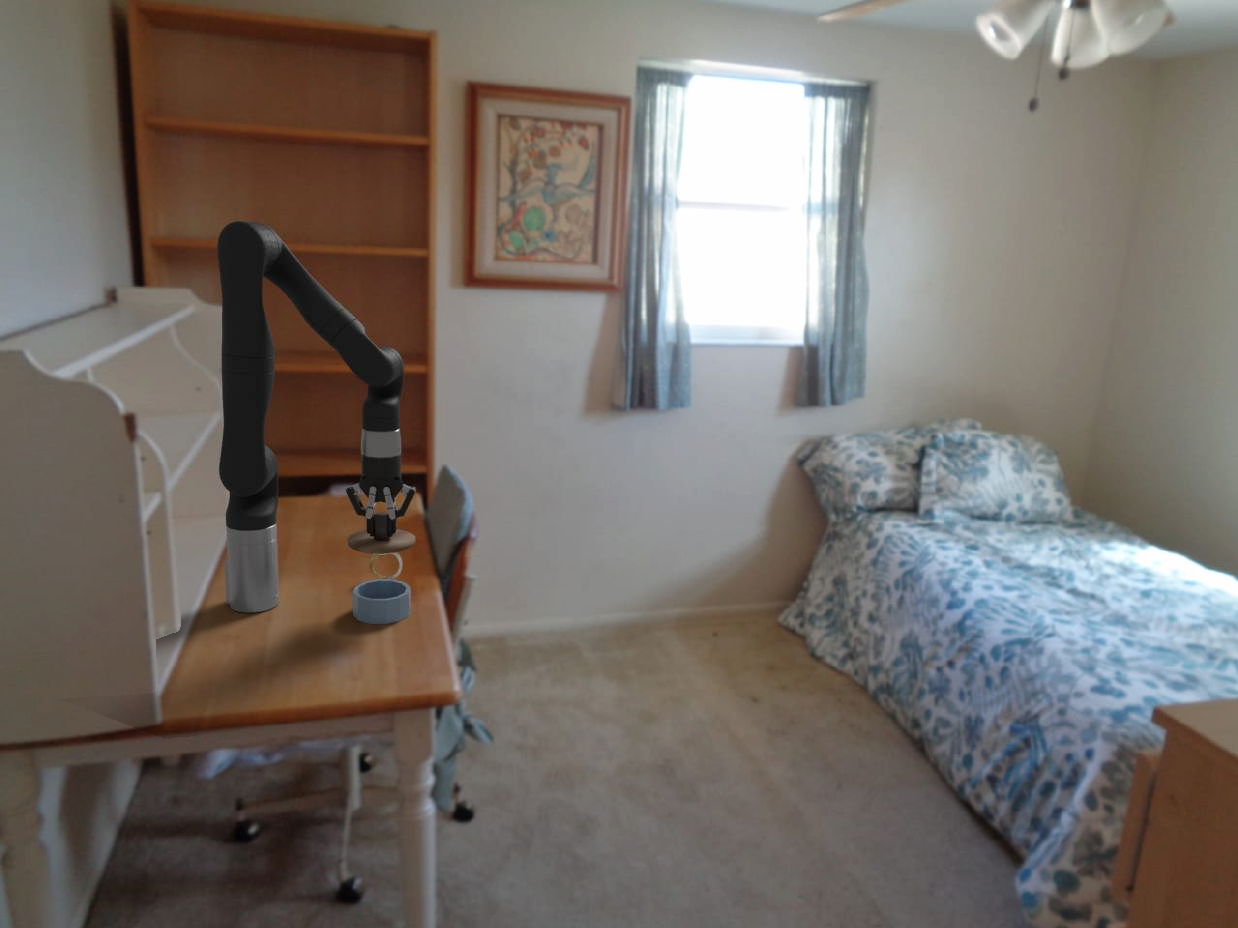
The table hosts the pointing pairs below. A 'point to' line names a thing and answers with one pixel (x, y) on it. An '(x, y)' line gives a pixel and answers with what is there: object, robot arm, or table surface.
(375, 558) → the ring
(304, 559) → the table surface
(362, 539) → the lid
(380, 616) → the bowl
